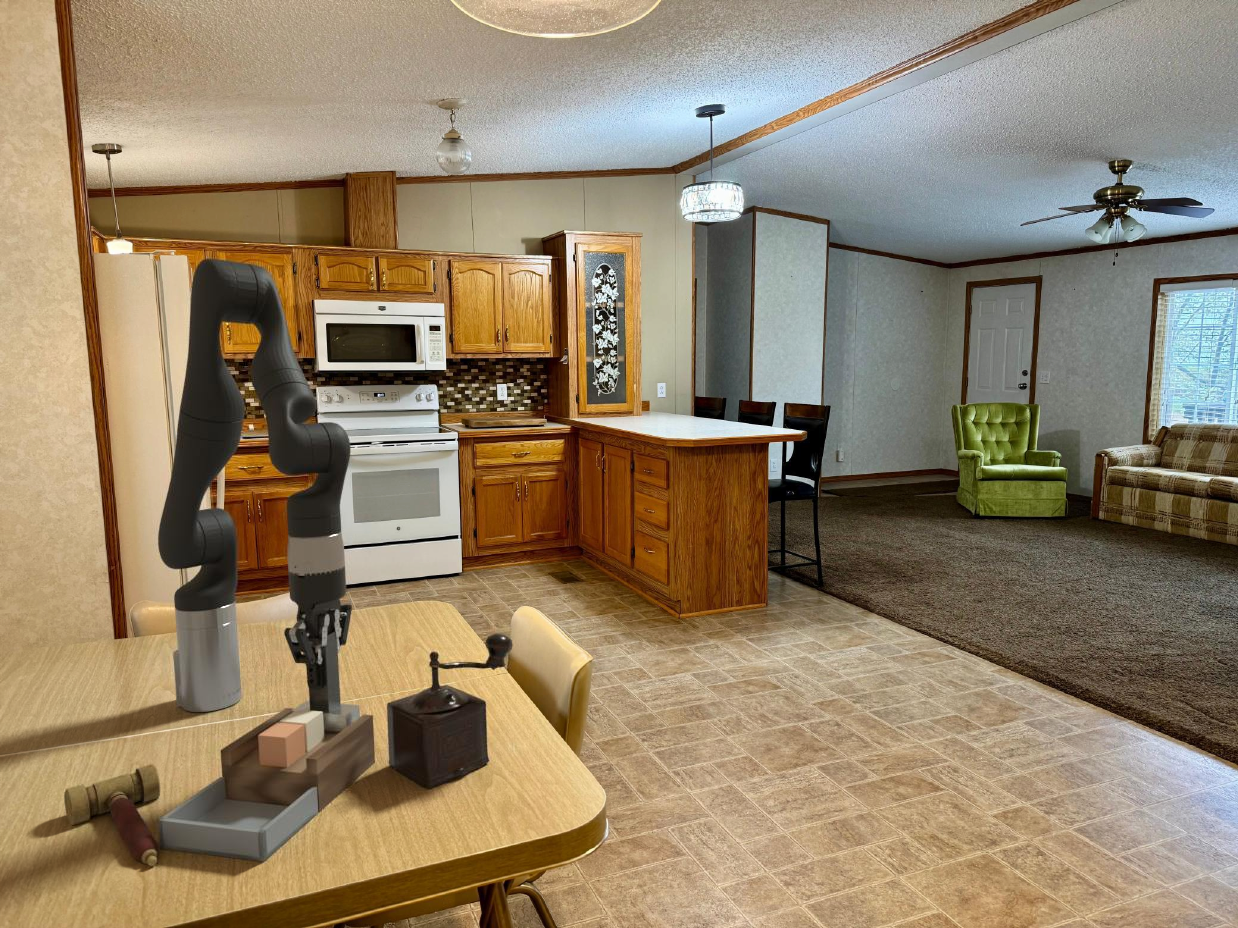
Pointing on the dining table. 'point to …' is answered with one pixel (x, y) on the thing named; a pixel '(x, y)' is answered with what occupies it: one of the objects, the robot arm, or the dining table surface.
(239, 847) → the tray
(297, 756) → the terracotta cube
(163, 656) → the dining table surface
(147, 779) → the gavel
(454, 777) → the antique coffee grinder
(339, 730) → the grey upright post
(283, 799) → the slot block
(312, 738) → the off-white cube
